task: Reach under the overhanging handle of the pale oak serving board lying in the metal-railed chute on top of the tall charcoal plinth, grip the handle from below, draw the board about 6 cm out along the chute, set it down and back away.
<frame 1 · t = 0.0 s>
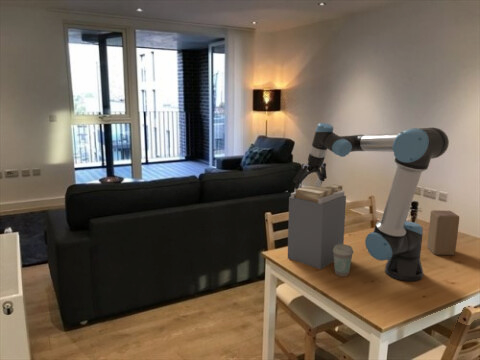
hand: (306, 192, 193), 28 cm above the table, tool tilted 20°, fingers open, 13 cm apart
coffee cup: (341, 273, 165), on the table
wooden block: (440, 252, 188), on the table
charcoal plinth: (315, 257, 182), on the table
oak board: (314, 197, 174), point 30 cm above the table, touching charcoal plinth
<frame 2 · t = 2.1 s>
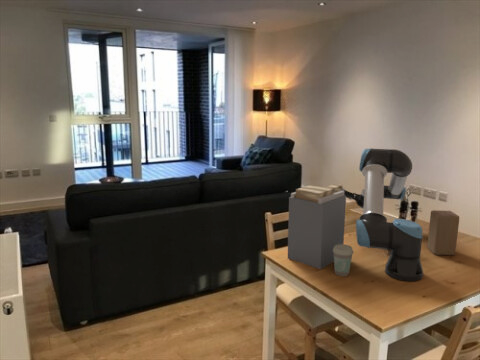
hand: (350, 189, 199), 28 cm above the table, tool pointing upward, fingers open, 13 cm apart
nothing on the table moved.
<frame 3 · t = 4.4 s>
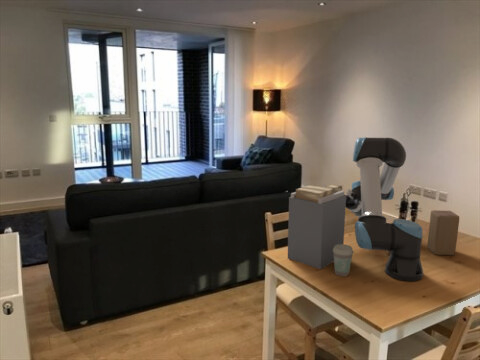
hand: (335, 189, 188), 30 cm above the table, tool pointing upward, fingers open, 13 cm apart
nothing on the table moved.
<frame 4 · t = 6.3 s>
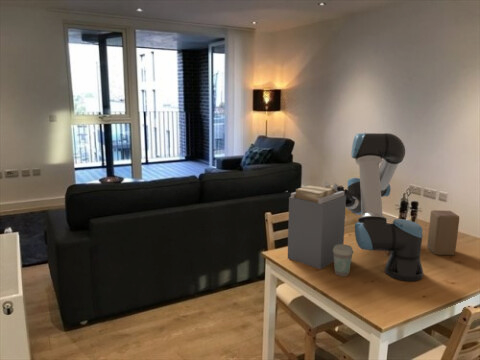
hand: (329, 184, 182), 34 cm above the table, tool pointing upward, fingers closed on oak board, 4 cm apart
oak board: (314, 197, 174), point 30 cm above the table, touching charcoal plinth, gripper
everything else where it was.
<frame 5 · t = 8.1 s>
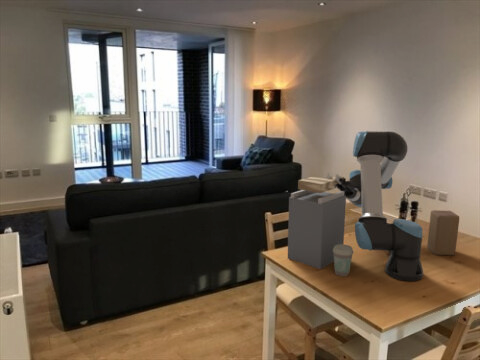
hand: (331, 176, 183), 38 cm above the table, tool pointing upward, fingers closed on oak board, 4 cm apart
oak board: (316, 188, 174), point 34 cm above the table, touching gripper
everything else where it was.
when the fingers open (35 cm above the table, at t = 10.2 s): oak board stays where it is, resting on charcoal plinth.
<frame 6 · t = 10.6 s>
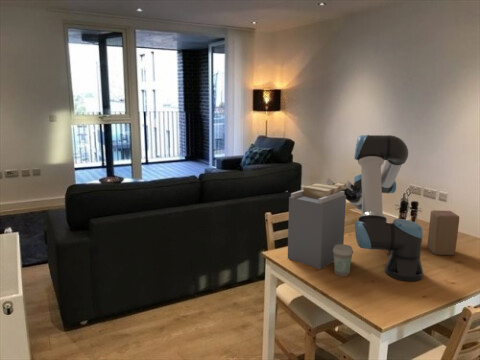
hand: (336, 181, 187), 34 cm above the table, tool pointing upward, fingers open, 10 cm apart
oak board: (321, 195, 178), point 30 cm above the table, touching charcoal plinth
everything else where it was.
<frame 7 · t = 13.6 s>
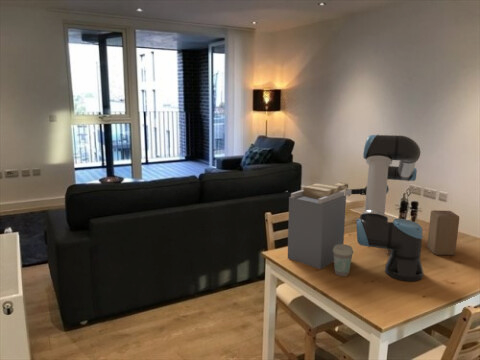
hand: (358, 193, 193), 27 cm above the table, tool horizontal, fingers open, 13 cm apart
nothing on the table moved.
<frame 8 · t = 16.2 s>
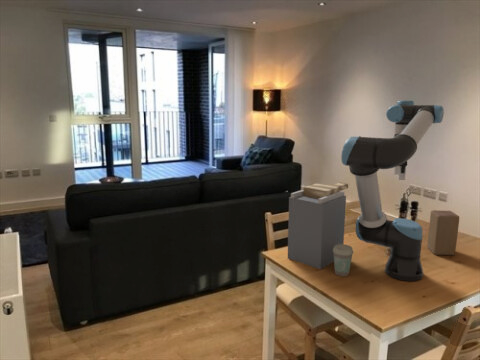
hand: (399, 177, 186), 37 cm above the table, tool pointing down, fingers open, 13 cm apart
nothing on the table moved.
at the end: oak board moved 6.0 cm from its start; oak board point 30.0 cm above the table; the gripper is holding nothing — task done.
